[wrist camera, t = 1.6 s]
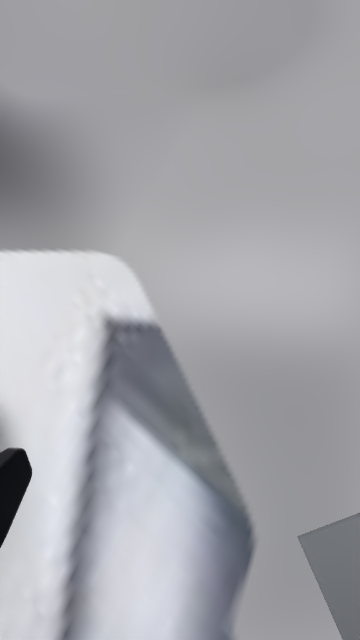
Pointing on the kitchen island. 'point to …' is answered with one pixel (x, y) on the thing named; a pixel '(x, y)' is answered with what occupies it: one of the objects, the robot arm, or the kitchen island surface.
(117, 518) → the kitchen island surface
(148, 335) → the kitchen island surface
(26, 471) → the robot arm
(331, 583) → the rubber mat
